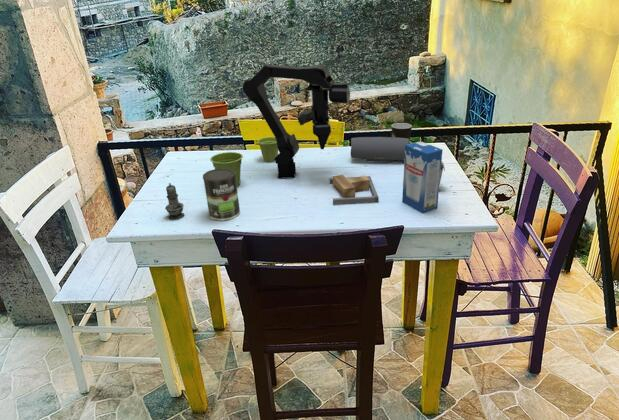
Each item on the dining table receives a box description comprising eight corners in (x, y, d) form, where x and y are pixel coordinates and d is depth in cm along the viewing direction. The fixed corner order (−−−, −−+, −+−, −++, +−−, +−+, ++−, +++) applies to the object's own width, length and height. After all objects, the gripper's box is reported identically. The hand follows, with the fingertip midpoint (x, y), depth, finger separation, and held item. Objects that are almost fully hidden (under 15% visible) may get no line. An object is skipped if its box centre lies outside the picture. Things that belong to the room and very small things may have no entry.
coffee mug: (410, 151, 193) (411, 128, 189) (390, 151, 195) (390, 128, 191) (410, 142, 203) (412, 121, 199) (391, 142, 205) (392, 120, 201)
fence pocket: (333, 204, 152) (333, 200, 151) (329, 182, 168) (329, 178, 167) (378, 202, 152) (378, 197, 151) (370, 180, 168) (370, 176, 167)
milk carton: (402, 202, 151) (405, 144, 142) (416, 197, 154) (420, 141, 145) (422, 213, 143) (427, 153, 134) (437, 208, 146) (442, 149, 137)
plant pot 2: (257, 157, 195) (255, 138, 191) (278, 154, 198) (277, 135, 194) (261, 165, 187) (259, 145, 183) (283, 161, 190) (282, 141, 186)
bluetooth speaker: (407, 157, 188) (408, 134, 183) (407, 165, 180) (409, 141, 175) (352, 156, 192) (352, 133, 187) (350, 164, 184) (350, 140, 179)
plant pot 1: (252, 184, 170) (249, 155, 165) (227, 194, 163) (223, 165, 158) (233, 176, 178) (229, 149, 173) (208, 186, 170) (203, 158, 165)
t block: (344, 199, 155) (344, 189, 153) (332, 186, 165) (332, 176, 163) (374, 194, 157) (374, 184, 156) (361, 181, 168) (361, 171, 166)
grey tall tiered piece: (169, 212, 152) (162, 180, 147) (186, 211, 152) (180, 178, 147) (165, 221, 147) (158, 187, 141) (184, 219, 147) (177, 185, 142)
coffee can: (244, 216, 147) (239, 176, 141) (213, 223, 144) (206, 183, 137) (235, 204, 156) (230, 165, 149) (206, 210, 152) (199, 171, 146)
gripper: (297, 97, 168) (299, 138, 175) (297, 110, 152) (299, 154, 159) (327, 96, 168) (328, 136, 175) (330, 109, 151) (331, 153, 159)
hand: (321, 145), depth 167 cm, fingers open, 9 cm apart
